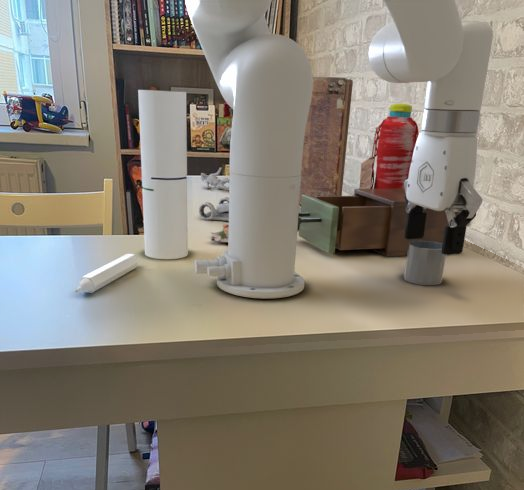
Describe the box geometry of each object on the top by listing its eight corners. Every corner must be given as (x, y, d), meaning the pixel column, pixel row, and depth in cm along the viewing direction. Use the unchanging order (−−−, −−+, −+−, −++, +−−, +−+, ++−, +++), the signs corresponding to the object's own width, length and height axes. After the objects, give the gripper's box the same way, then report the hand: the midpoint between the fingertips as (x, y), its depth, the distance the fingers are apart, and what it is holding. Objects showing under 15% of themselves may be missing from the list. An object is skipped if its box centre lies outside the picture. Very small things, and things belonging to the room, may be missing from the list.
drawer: (300, 254, 94) (303, 207, 91) (273, 236, 106) (275, 194, 102) (396, 250, 100) (403, 206, 97) (361, 233, 111) (365, 193, 108)
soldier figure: (222, 195, 159) (190, 177, 163) (226, 205, 164) (195, 187, 168) (238, 175, 161) (206, 158, 164) (241, 185, 165) (210, 168, 169)
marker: (75, 304, 72) (130, 270, 86) (87, 298, 71) (141, 265, 85) (64, 286, 71) (121, 255, 86) (76, 279, 71) (132, 249, 85)
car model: (219, 211, 132) (219, 189, 130) (316, 224, 123) (318, 201, 121) (194, 218, 122) (194, 195, 120) (297, 233, 113) (299, 208, 111)
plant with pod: (266, 248, 101) (272, 129, 93) (205, 243, 102) (205, 126, 94) (271, 238, 108) (277, 127, 100) (214, 234, 109) (215, 124, 101)
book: (341, 203, 149) (354, 79, 137) (335, 209, 141) (348, 77, 129) (251, 195, 156) (256, 75, 144) (241, 200, 148) (244, 74, 136)
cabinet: (386, 256, 99) (394, 201, 95) (348, 238, 112) (354, 188, 108) (455, 253, 104) (465, 200, 100) (411, 235, 116) (418, 188, 112)
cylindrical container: (179, 260, 91) (176, 91, 80) (138, 256, 92) (130, 89, 81) (193, 250, 97) (192, 92, 87) (154, 246, 98) (149, 90, 88)
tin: (417, 286, 83) (423, 250, 81) (396, 275, 88) (401, 241, 86) (449, 284, 85) (455, 248, 83) (427, 273, 90) (433, 239, 88)
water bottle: (347, 226, 123) (360, 101, 112) (356, 220, 129) (369, 102, 119) (402, 232, 118) (421, 104, 108) (409, 226, 125) (427, 104, 115)
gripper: (393, 121, 84) (381, 234, 91) (466, 127, 69) (445, 262, 76) (435, 121, 86) (420, 232, 93) (515, 128, 71) (490, 258, 78)
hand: (431, 245), depth 85 cm, fingers open, 9 cm apart
